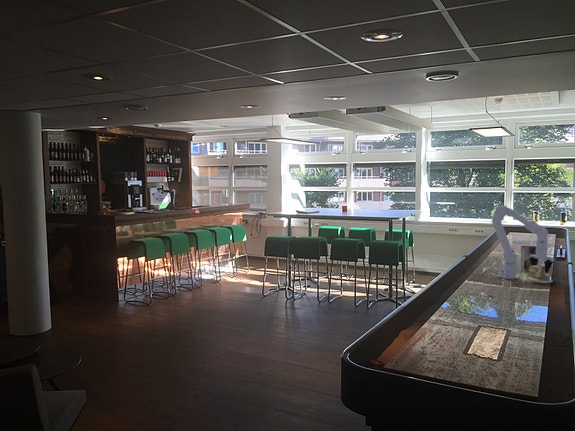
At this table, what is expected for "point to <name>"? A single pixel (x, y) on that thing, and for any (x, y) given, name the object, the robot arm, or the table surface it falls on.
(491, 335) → the table surface
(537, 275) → the ash beam
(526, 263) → the coffee box
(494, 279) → the table surface
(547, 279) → the balance stand
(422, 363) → the table surface
